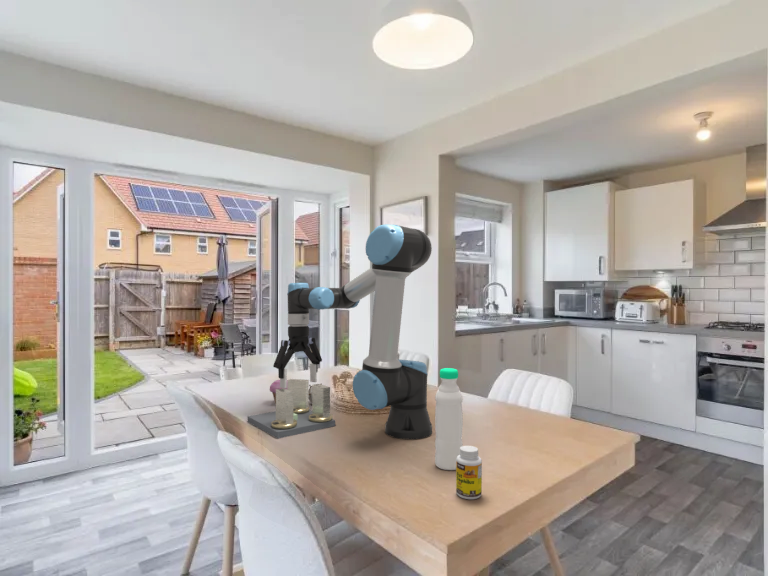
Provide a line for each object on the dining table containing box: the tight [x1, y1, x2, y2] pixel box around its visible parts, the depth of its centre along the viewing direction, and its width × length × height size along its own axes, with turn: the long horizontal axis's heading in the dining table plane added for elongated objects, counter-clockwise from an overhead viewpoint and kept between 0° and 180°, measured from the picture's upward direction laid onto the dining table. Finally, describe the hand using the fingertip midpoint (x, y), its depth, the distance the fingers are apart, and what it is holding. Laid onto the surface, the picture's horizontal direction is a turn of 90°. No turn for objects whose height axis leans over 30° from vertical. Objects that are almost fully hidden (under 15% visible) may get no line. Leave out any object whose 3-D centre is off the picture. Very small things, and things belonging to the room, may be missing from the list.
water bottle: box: [434, 367, 464, 471], centre depth 114 cm, size 7×7×25 cm
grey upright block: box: [309, 383, 334, 422], centre depth 149 cm, size 8×8×11 cm
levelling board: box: [246, 409, 336, 440], centre depth 151 cm, size 23×21×4 cm
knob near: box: [271, 388, 297, 429], centre depth 142 cm, size 8×8×11 cm
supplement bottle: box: [455, 445, 483, 500], centre depth 98 cm, size 6×6×10 cm
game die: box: [308, 383, 323, 407], centre depth 178 cm, size 9×8×10 cm
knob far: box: [287, 378, 310, 414], centre depth 159 cm, size 8×8×11 cm
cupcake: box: [269, 379, 289, 405], centre depth 178 cm, size 9×9×10 cm
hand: (298, 384), depth 159 cm, fingers open, 13 cm apart
